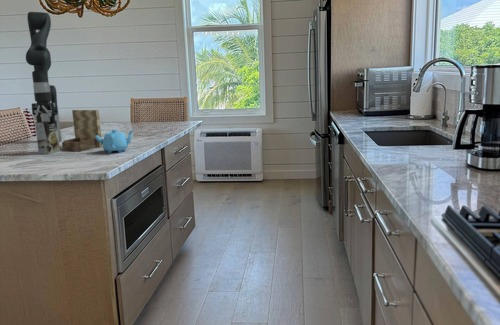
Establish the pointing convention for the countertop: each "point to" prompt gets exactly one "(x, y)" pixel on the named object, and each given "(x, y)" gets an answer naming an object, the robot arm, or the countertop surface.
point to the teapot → (115, 141)
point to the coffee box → (47, 137)
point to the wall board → (87, 125)
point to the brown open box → (78, 144)
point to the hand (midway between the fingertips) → (46, 123)
